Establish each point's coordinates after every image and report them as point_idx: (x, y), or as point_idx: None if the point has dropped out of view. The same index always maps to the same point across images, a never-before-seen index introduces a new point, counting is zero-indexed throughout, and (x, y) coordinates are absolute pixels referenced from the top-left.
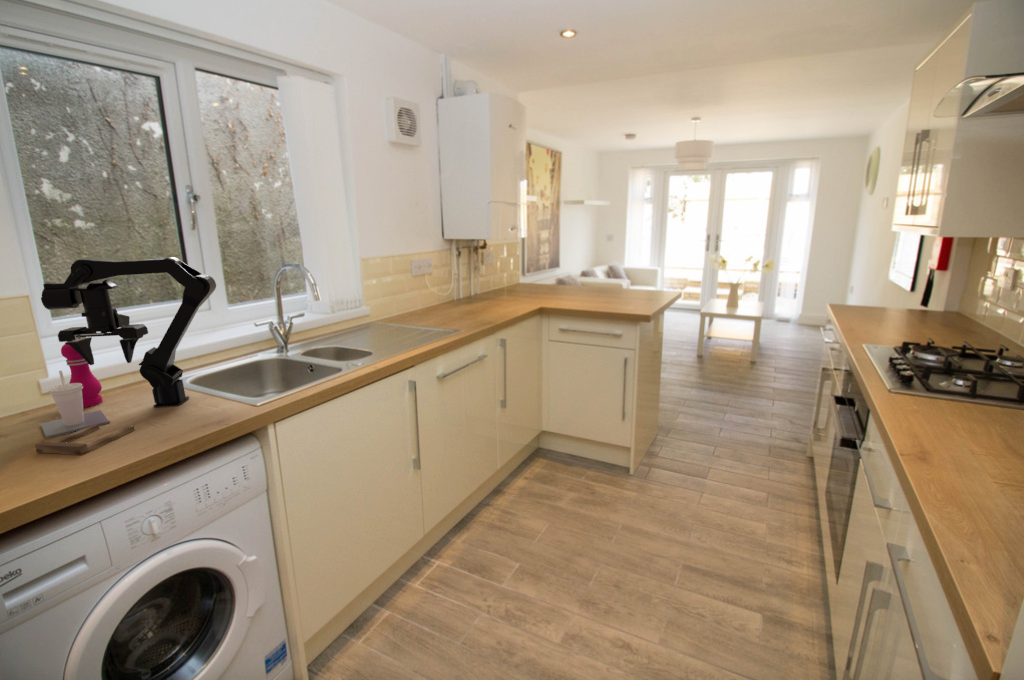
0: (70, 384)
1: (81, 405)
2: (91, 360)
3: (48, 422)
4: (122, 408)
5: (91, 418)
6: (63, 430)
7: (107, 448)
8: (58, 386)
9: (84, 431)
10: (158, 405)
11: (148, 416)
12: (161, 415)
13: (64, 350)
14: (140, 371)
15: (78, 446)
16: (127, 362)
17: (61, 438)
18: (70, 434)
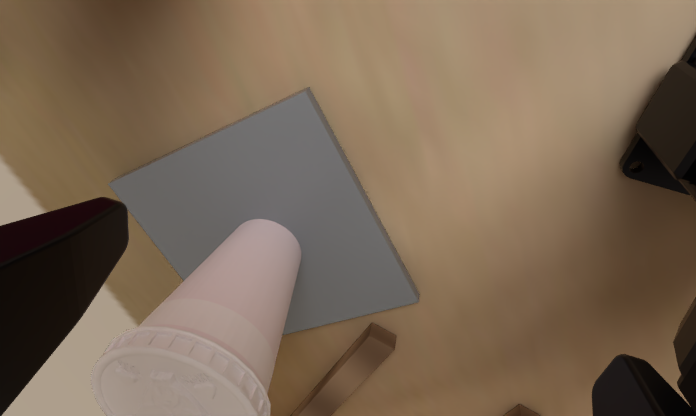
0: (176, 390)
1: (284, 321)
2: (86, 273)
3: (135, 183)
4: (421, 73)
5: (318, 225)
6: None
7: None
8: (109, 371)
9: (362, 380)
10: (654, 183)
11: (589, 294)
12: (655, 313)
13: None
14: (692, 404)
15: None
16: (595, 400)
17: (310, 407)
18: (324, 389)
